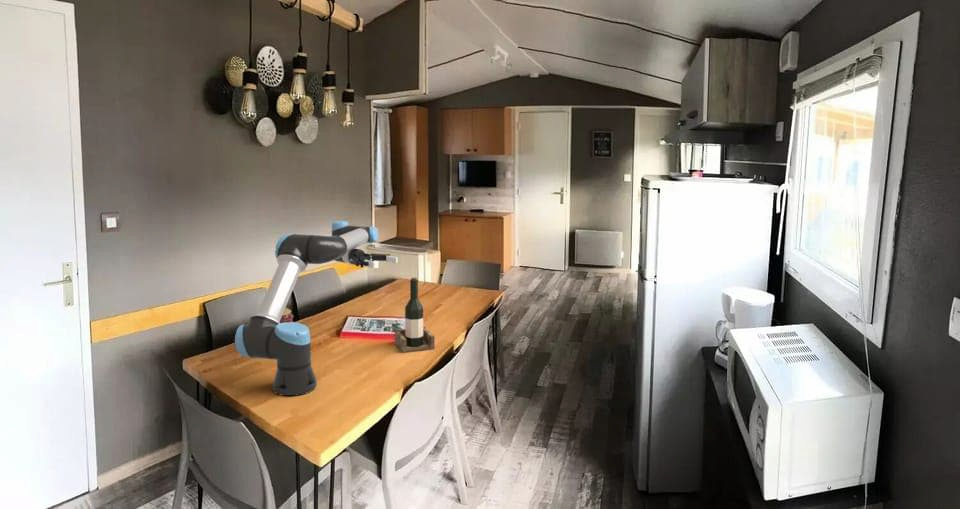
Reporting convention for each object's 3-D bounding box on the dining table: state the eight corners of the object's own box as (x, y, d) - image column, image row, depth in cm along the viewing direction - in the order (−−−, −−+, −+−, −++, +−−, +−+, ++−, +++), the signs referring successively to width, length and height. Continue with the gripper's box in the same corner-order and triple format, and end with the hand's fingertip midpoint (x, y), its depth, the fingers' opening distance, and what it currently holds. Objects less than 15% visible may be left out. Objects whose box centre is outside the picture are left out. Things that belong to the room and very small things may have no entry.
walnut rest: (434, 349, 244) (434, 336, 243) (403, 353, 238) (403, 340, 237) (424, 339, 257) (424, 326, 255) (394, 342, 251) (394, 330, 250)
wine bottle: (420, 348, 242) (420, 281, 237) (402, 346, 244) (401, 279, 239) (426, 341, 250) (426, 276, 245) (408, 340, 252) (408, 275, 247)
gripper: (374, 260, 271) (405, 266, 259) (332, 268, 251) (364, 275, 239) (373, 245, 270) (405, 250, 257) (332, 252, 250) (364, 258, 238)
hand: (386, 262), depth 248 cm, fingers open, 13 cm apart
